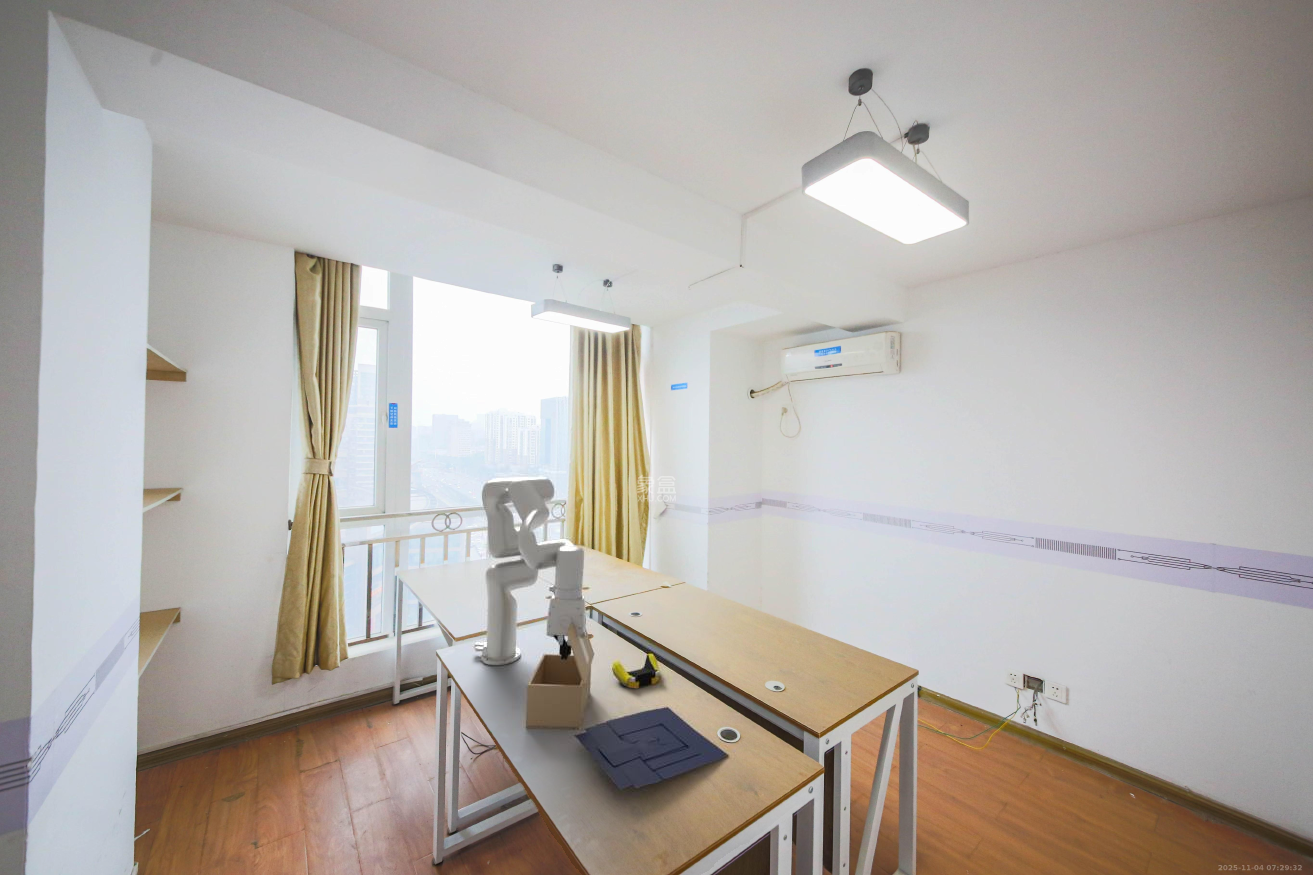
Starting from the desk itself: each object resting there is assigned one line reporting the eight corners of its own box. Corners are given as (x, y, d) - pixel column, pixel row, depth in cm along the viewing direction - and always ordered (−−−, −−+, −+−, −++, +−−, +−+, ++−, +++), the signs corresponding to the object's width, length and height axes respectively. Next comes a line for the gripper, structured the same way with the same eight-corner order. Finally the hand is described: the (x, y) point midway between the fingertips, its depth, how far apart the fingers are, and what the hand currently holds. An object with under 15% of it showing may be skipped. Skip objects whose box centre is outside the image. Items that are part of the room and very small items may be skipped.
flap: (566, 633, 119) (568, 632, 119) (577, 609, 136) (579, 608, 136) (583, 684, 119) (585, 684, 119) (592, 654, 136) (594, 653, 136)
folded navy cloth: (568, 742, 112) (571, 726, 112) (665, 716, 130) (667, 702, 130) (623, 809, 92) (625, 790, 93) (728, 767, 110) (730, 751, 110)
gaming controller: (609, 677, 145) (623, 693, 136) (610, 660, 145) (623, 675, 136) (652, 667, 152) (667, 682, 143) (652, 650, 152) (667, 664, 143)
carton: (525, 727, 119) (527, 684, 119) (542, 691, 136) (543, 653, 136) (580, 729, 119) (581, 686, 119) (590, 692, 136) (591, 655, 136)
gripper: (537, 595, 124) (534, 662, 124) (593, 598, 124) (589, 665, 124) (544, 585, 131) (541, 649, 132) (597, 588, 131) (593, 652, 132)
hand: (565, 657), depth 128 cm, fingers closed
